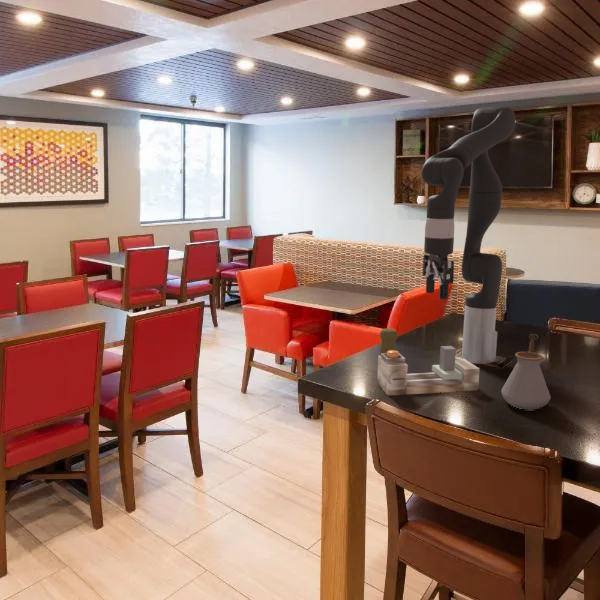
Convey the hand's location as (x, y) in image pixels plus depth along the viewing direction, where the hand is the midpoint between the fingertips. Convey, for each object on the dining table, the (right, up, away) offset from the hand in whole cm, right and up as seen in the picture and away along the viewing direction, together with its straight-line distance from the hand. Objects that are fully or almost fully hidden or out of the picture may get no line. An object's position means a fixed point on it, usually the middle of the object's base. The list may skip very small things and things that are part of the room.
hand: (436, 295), depth 161 cm
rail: (-3, -25, 0) cm, 25 cm away
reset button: (-12, -17, -4) cm, 21 cm away
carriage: (+3, -21, 0) cm, 21 cm away
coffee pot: (+21, -27, -8) cm, 35 cm away
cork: (-10, -21, +19) cm, 30 cm away
